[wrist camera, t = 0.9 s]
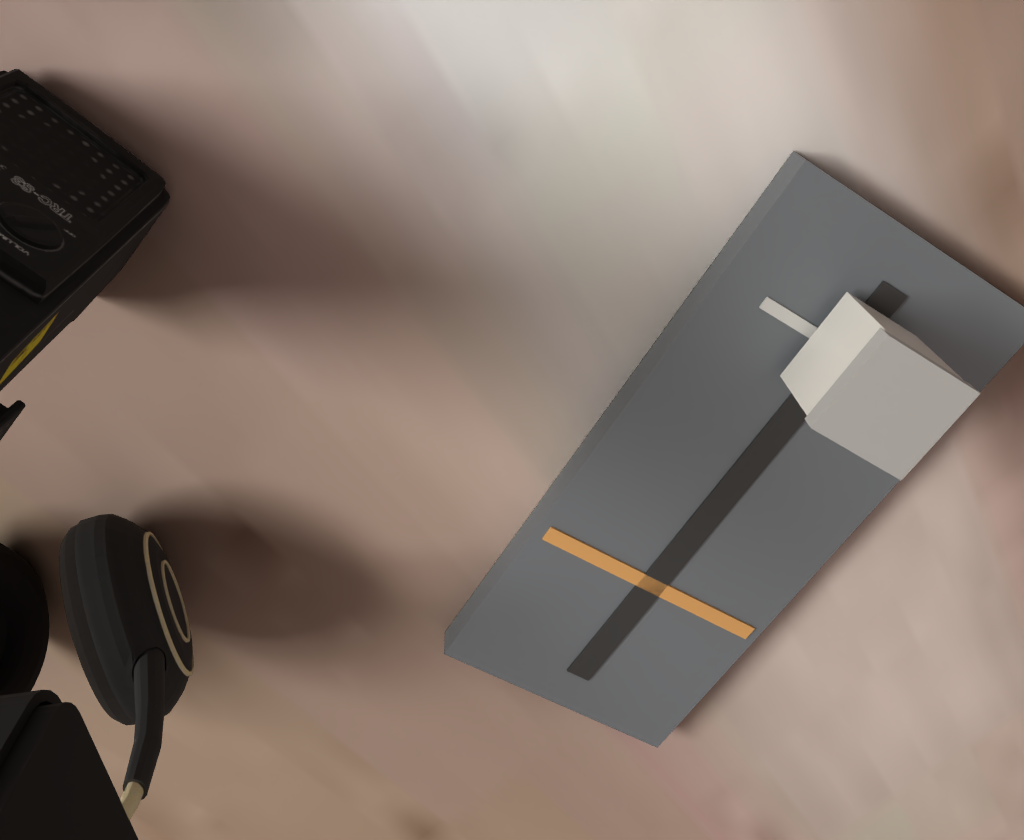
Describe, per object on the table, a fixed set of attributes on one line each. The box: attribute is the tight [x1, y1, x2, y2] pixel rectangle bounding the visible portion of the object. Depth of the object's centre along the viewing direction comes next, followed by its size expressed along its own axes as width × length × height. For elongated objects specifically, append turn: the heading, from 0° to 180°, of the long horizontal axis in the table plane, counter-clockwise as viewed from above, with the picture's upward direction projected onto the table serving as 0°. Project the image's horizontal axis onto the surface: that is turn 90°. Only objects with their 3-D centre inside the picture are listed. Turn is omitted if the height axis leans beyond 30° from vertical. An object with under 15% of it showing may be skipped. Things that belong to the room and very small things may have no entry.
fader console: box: [444, 151, 1024, 748], centre depth 41 cm, size 26×12×2 cm, turn 149°
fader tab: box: [780, 292, 981, 481], centre depth 35 cm, size 4×4×5 cm
